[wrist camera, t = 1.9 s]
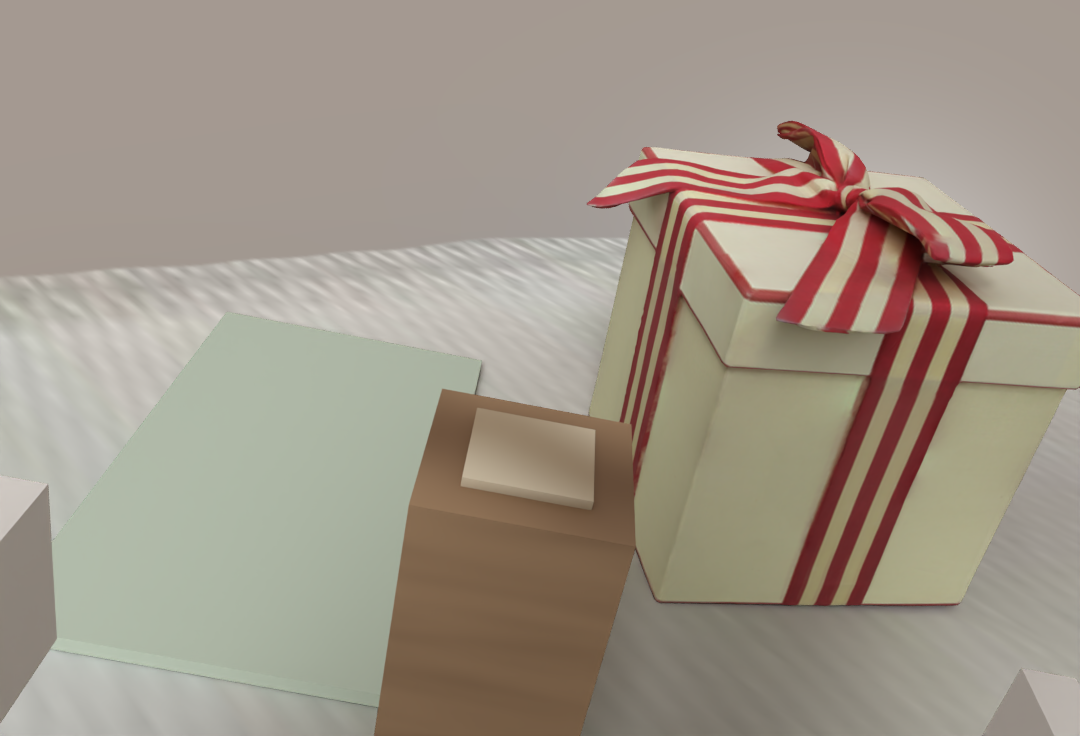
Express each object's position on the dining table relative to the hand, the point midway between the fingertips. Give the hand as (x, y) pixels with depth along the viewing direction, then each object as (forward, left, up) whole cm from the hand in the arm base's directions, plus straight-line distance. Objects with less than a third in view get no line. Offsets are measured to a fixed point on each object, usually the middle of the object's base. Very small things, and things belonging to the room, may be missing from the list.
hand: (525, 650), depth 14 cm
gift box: (-29, -10, -18) cm, 36 cm away
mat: (-14, -24, -18) cm, 33 cm away
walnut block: (-7, -6, -18) cm, 20 cm away
